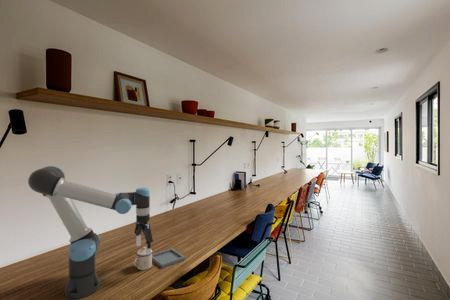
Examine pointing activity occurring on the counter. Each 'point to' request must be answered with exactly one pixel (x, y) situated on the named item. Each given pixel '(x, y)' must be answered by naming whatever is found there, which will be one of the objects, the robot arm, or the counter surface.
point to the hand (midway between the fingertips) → (143, 249)
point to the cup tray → (167, 258)
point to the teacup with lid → (143, 259)
